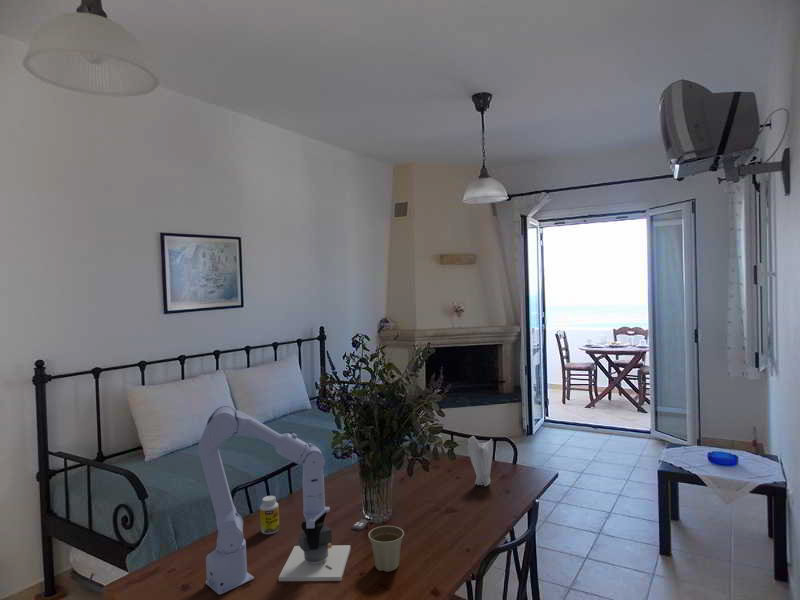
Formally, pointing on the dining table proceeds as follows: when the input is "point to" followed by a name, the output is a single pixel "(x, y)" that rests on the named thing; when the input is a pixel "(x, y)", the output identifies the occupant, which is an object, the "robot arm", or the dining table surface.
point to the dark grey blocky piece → (323, 547)
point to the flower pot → (386, 546)
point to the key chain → (360, 524)
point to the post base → (316, 565)
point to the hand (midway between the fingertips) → (315, 542)
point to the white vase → (481, 459)
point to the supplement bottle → (269, 515)
